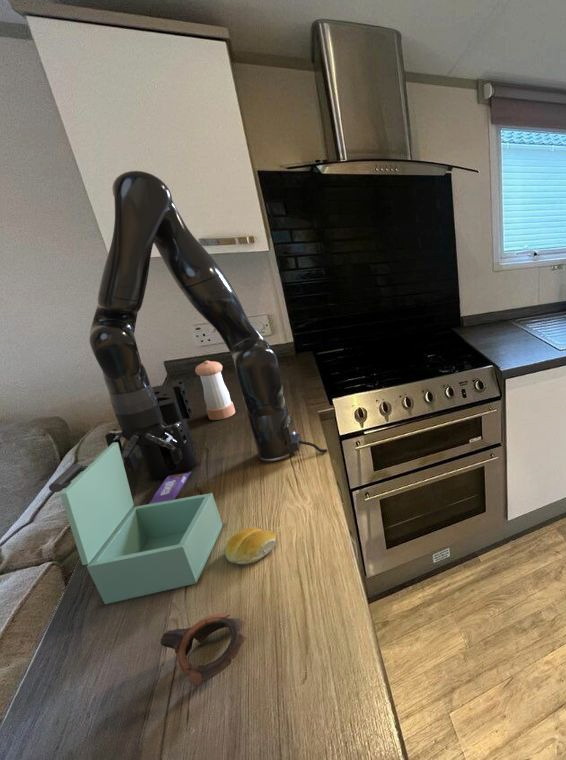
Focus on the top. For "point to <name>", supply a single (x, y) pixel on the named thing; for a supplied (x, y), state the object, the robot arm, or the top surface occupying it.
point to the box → (157, 548)
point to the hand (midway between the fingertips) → (156, 465)
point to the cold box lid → (95, 500)
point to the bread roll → (249, 545)
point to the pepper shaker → (215, 391)
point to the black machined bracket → (172, 410)
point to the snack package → (170, 488)
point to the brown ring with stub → (200, 631)
